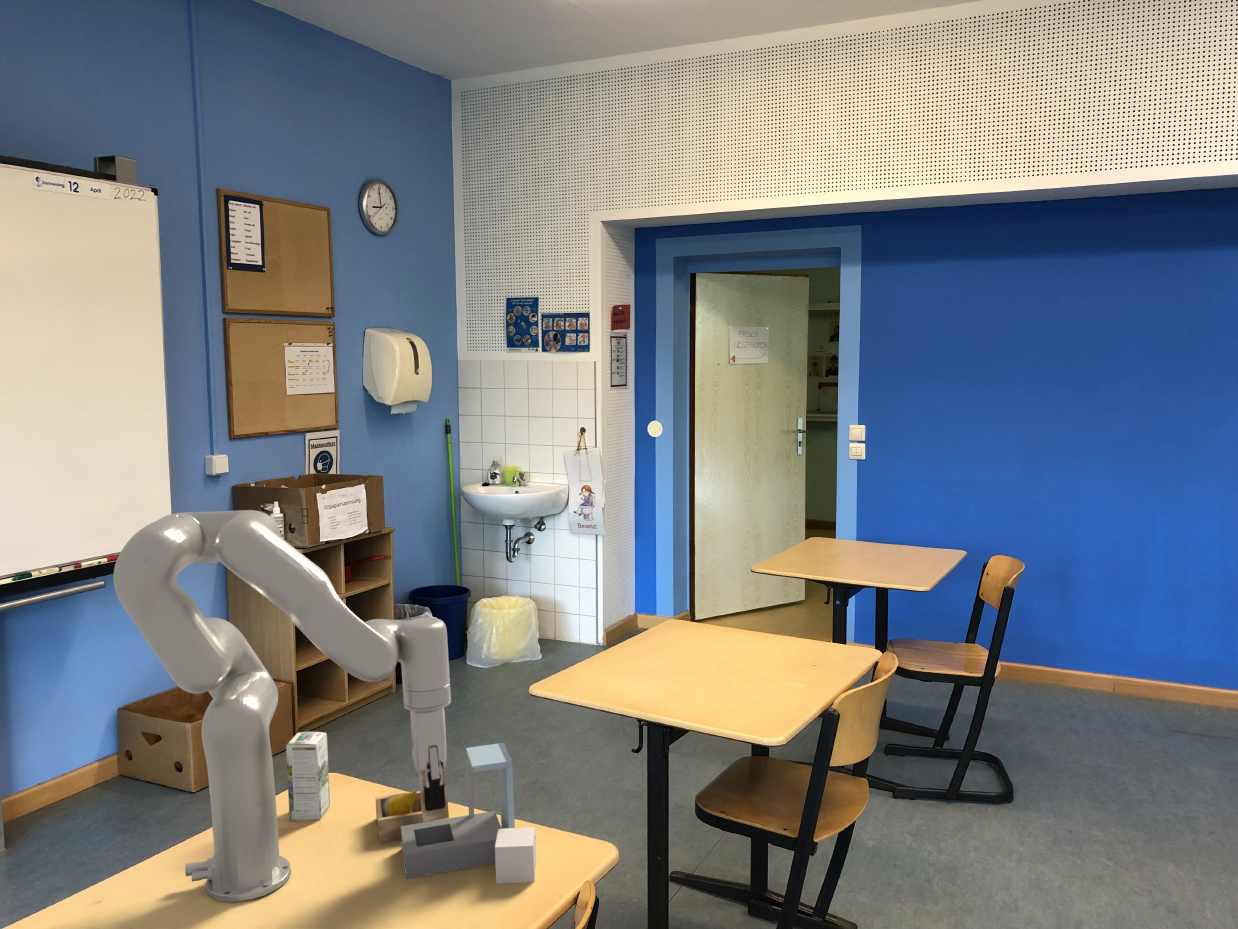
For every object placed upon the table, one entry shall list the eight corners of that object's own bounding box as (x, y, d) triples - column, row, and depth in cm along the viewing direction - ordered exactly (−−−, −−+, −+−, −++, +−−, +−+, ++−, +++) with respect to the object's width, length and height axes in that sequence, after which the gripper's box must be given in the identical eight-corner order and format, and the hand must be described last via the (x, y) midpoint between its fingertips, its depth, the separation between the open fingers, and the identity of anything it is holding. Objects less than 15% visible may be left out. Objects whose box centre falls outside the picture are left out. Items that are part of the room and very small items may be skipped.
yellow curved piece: (404, 813, 172) (433, 786, 167) (396, 838, 167) (425, 811, 163) (379, 800, 170) (407, 772, 166) (370, 825, 166) (399, 796, 161)
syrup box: (300, 806, 176) (295, 731, 174) (331, 805, 176) (326, 731, 174) (289, 821, 170) (284, 744, 169) (321, 820, 170) (316, 743, 169)
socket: (406, 879, 150) (405, 855, 149) (401, 848, 159) (400, 826, 159) (506, 861, 154) (505, 838, 154) (495, 832, 164) (494, 810, 164)
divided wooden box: (379, 842, 162) (377, 820, 161) (376, 818, 170) (375, 797, 170) (432, 833, 164) (431, 811, 164) (427, 810, 173) (426, 789, 172)
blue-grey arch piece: (476, 860, 155) (472, 766, 153) (469, 837, 163) (465, 748, 161) (515, 853, 157) (512, 760, 155) (507, 830, 165) (503, 742, 163)
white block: (499, 864, 154) (498, 828, 153) (536, 862, 154) (535, 827, 154) (496, 883, 148) (494, 847, 147) (534, 882, 148) (533, 845, 148)
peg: (424, 822, 153) (420, 763, 152) (421, 811, 157) (417, 753, 156) (448, 818, 154) (445, 759, 153) (445, 807, 158) (442, 750, 157)
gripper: (399, 682, 160) (406, 785, 162) (407, 716, 144) (415, 830, 146) (444, 676, 162) (450, 778, 164) (457, 709, 146) (463, 821, 148)
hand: (433, 801), depth 155 cm, fingers closed on peg, 4 cm apart
